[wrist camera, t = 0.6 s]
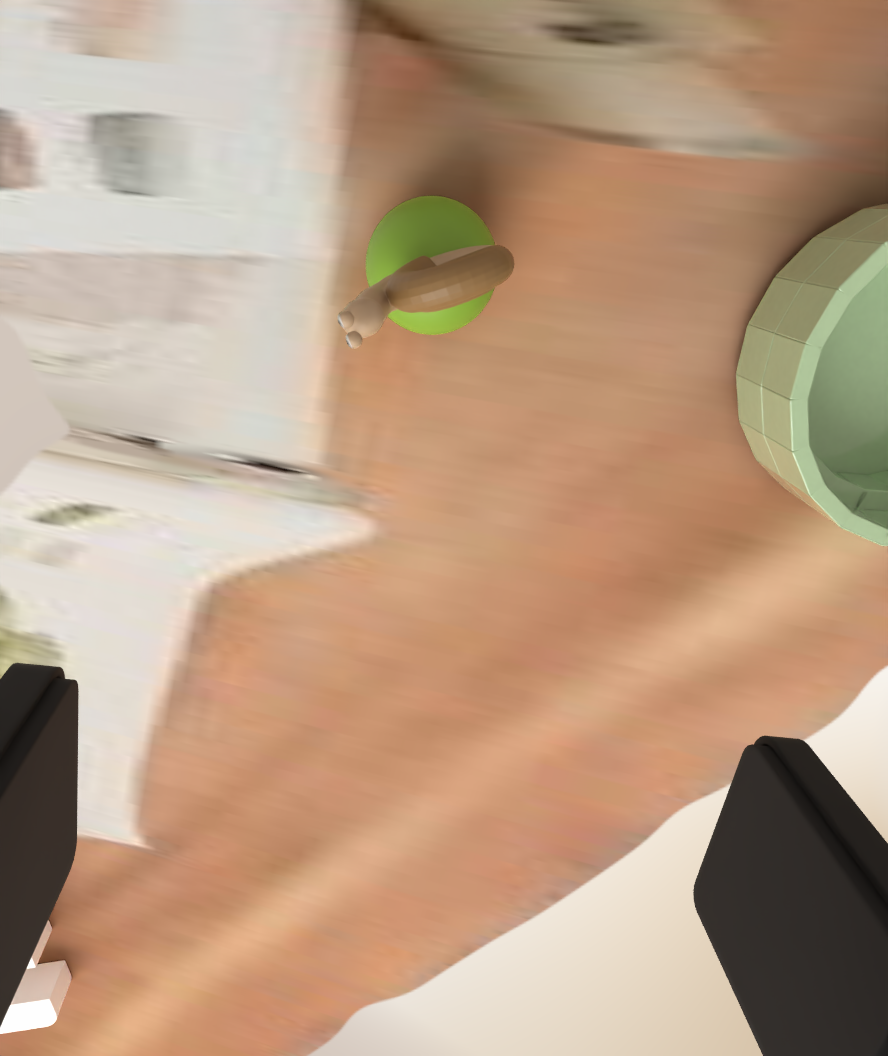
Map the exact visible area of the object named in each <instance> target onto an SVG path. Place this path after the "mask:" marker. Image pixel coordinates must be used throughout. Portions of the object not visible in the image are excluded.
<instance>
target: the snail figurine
mask: <svg viewBox="0 0 888 1056" xmlns="http://www.w3.org/2000/svg"><path fill="white" fill-rule="evenodd" d="M513 268H514V258H513V256H512V254H511V252H510V251H509V250H508V249H507V248H505V247H503V246H500V245H495V243H494V240H493V238H492V235H491V233H490V231H489V229H488V228H487V226H486V225H485V223H484V222H483V221H482V219H481V218H480V217H479V216H478V215H477V214H476V213H475V212H474V211H473V210H471V209H470V208H469V207H467V206H466V205H464V204H462V203H460V202H458V201H456V200H453V199H450V198H447V197H442V196H421V197H417V198H413V199H410V200H407V201H405V202H403V203H401V204H399V205H398V206H396V207H395V208H393V209H392V210H391V211H390V212H389V213H387V214H386V215H385V217H384V218H383V219H382V220H381V221H380V223H379V224H378V225H377V227H376V229H375V230H374V232H373V234H372V237H371V239H370V242H369V245H368V249H367V255H366V275H367V280H368V284H369V288H367V289H365V290H364V291H362V292H361V293H360V294H359V295H358V296H357V298H356V299H355V300H353V301H351V302H350V303H349V304H348V305H347V306H346V307H345V308H344V310H343V311H342V312H340V313H339V315H338V322H339V324H340V325H341V327H343V328H344V330H345V331H346V332H347V333H348V334H347V335H346V341H347V344H348V345H349V347H351V348H353V349H356V348H358V347H360V345H361V344H362V338H366V337H370V336H372V335H374V334H375V333H376V332H378V330H379V329H380V328H381V326H382V324H383V322H384V320H385V319H386V318H387V316H388V317H389V318H390V319H391V320H392V321H393V322H395V323H396V324H398V325H399V326H401V327H403V328H405V329H407V330H410V331H413V332H416V333H420V334H428V335H436V334H444V333H448V332H452V331H455V330H457V329H459V328H461V327H463V326H465V325H467V324H468V323H469V322H471V321H472V320H473V319H474V318H476V317H477V316H478V315H479V314H480V313H481V311H482V310H483V309H484V308H485V306H486V305H487V303H488V301H489V300H490V298H491V296H492V293H493V291H494V288H495V287H496V286H498V285H499V284H501V283H503V282H504V281H505V280H507V279H508V277H509V276H510V275H511V273H512V271H513Z"/></svg>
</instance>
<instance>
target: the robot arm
mask: <svg viewBox="0 0 888 1056" xmlns="http://www.w3.org/2000/svg"><path fill="white" fill-rule="evenodd" d="M77 777H78V683H77V681H76V680H70V679H65V675H64V671H63V669H62V668H61V667H53V666H43V665H33V664H23V663H15V664H13V665H12V666H11V667H9V669H8V670H7V671H6V673H5V674H4V675H3V676H2V678H1V679H0V1027H1V1025H2V1022H3V1020H4V1018H5V1016H6V1013H7V1011H8V1009H9V1007H10V1005H11V1002H12V1000H13V998H14V996H15V993H16V991H17V989H18V987H19V984H20V982H21V980H22V978H23V975H24V973H25V971H26V969H27V966H28V964H29V962H30V960H31V957H32V955H33V953H34V951H35V948H36V946H37V944H38V942H39V939H40V937H41V935H42V933H43V930H44V928H45V926H46V924H47V921H48V919H49V917H50V915H51V912H52V910H53V908H54V906H55V903H56V901H57V899H58V897H59V894H60V892H61V890H62V888H63V886H64V883H65V881H66V879H67V877H68V874H69V872H70V869H71V867H72V863H73V860H74V856H75V851H76V844H77ZM694 903H695V907H696V910H697V913H698V915H699V917H700V919H701V922H702V924H703V926H704V928H705V930H706V933H707V935H708V937H709V939H710V941H711V943H712V946H713V948H714V950H715V952H716V954H717V956H718V959H719V961H720V963H721V965H722V967H723V969H724V971H725V974H726V976H727V978H728V980H729V983H730V985H731V987H732V989H733V991H734V993H735V996H736V997H737V1000H738V1002H739V1004H740V1006H741V1009H742V1011H743V1013H744V1015H745V1017H746V1019H747V1022H748V1024H749V1026H750V1028H751V1030H752V1032H753V1035H754V1037H755V1039H756V1041H757V1043H758V1046H759V1048H760V1050H761V1052H762V1054H763V1056H888V843H887V842H886V841H885V840H884V838H883V837H882V836H881V835H880V833H879V832H878V831H877V830H876V828H875V827H874V826H873V825H872V824H871V822H870V821H869V820H868V819H867V817H866V816H865V815H864V814H863V812H862V811H861V810H860V809H859V807H858V806H857V805H856V804H855V802H854V801H853V800H852V799H851V797H850V796H849V795H848V794H847V793H846V791H845V790H844V789H843V787H842V786H841V785H840V784H839V782H838V781H837V780H836V779H835V777H834V776H833V775H832V774H831V773H830V771H829V770H828V769H827V768H826V766H825V765H824V764H823V763H822V761H821V760H820V759H819V758H818V756H817V755H816V754H815V753H814V751H813V750H812V749H811V748H810V746H809V745H808V744H807V743H806V742H804V741H803V740H800V739H793V738H783V737H773V736H762V737H760V738H759V739H758V740H756V742H755V744H754V745H748V746H747V747H746V748H745V750H744V751H743V753H742V756H741V759H740V762H739V764H738V767H737V770H736V772H735V775H734V778H733V781H732V783H731V786H730V789H729V791H728V794H727V797H726V800H725V802H724V805H723V808H722V811H721V813H720V816H719V819H718V822H717V824H716V827H715V829H714V832H713V835H712V838H711V840H710V843H709V846H708V848H707V851H706V854H705V856H704V859H703V862H702V865H701V867H700V870H699V873H698V876H697V878H696V882H695V885H694Z"/></svg>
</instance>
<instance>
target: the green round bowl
mask: <svg viewBox="0 0 888 1056" xmlns="http://www.w3.org/2000/svg"><path fill="white" fill-rule="evenodd" d="M736 384H737V399H738V415H739V422H740V424H741V427H742V429H743V431H744V434H745V436H746V438H747V441H748V443H749V445H750V448H751V450H752V452H753V455H754V457H755V459H756V460H757V461H758V462H759V463H760V464H761V465H762V467H763V468H764V469H765V470H766V471H767V472H768V473H769V474H770V475H771V476H772V477H773V478H774V479H775V480H776V481H777V482H778V483H779V484H780V485H781V486H782V487H783V488H785V489H786V490H787V491H789V492H790V493H792V494H793V495H795V496H796V497H797V498H799V499H800V500H802V501H803V502H805V503H806V504H807V505H809V506H810V507H812V508H813V509H815V510H816V511H818V512H819V513H820V514H822V515H823V516H825V517H826V518H828V519H829V520H830V521H832V522H833V523H835V524H836V525H838V526H839V527H840V528H842V529H844V530H847V531H849V532H851V533H854V534H856V535H858V536H860V537H863V538H865V539H867V540H869V541H872V542H874V543H876V544H878V545H882V546H888V203H886V204H881V205H877V206H873V207H868V208H864V209H862V210H860V211H858V212H856V213H854V214H853V215H851V216H849V217H847V218H846V219H844V220H842V221H841V222H839V223H837V224H835V225H834V226H832V227H830V228H828V229H827V230H825V231H823V232H821V233H820V234H818V235H816V236H815V237H813V238H812V239H811V240H810V241H809V242H808V243H807V244H806V245H805V246H804V247H803V248H802V249H801V250H800V251H799V252H798V253H797V254H796V255H795V256H794V257H793V258H792V259H791V261H790V262H789V263H788V264H787V265H786V266H785V267H784V268H783V269H782V270H781V271H780V272H779V273H778V274H777V275H776V276H775V278H774V279H773V281H772V282H771V284H770V286H769V288H768V290H767V291H766V293H765V295H764V297H763V298H762V300H761V302H760V304H759V305H758V307H757V309H756V311H755V313H754V314H753V316H752V318H751V320H750V321H749V324H748V325H747V329H746V333H745V338H744V342H743V346H742V350H741V354H740V358H739V362H738V366H737V370H736Z"/></svg>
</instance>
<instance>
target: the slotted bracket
mask: <svg viewBox="0 0 888 1056" xmlns="http://www.w3.org/2000/svg"><path fill="white" fill-rule="evenodd" d="M51 931H52V927H51V925H50V922H49V920H48V921H47V924H46V926H45V928H44V930H43V933H42V935H41V937H40V939H39V942H38V944H37V946H36V948H35V951H34V953H33V955H32V957H31V960H30V962H29V964H28V966H27V969H26V971H25V973H24V975H23V978H22V980H21V982H20V984H19V987H18V989H17V991H16V993H15V996H14V998H13V1000H12V1002H11V1005H10V1007H9V1009H8V1011H7V1013H6V1016H5V1018H4V1020H3V1022H2V1025H1V1027H0V1034H2V1033H9V1032H15V1031H22V1030H28V1029H35V1028H41V1027H47V1026H50V1025H52V1024H53V1023H54V1022H55V1021H56V1019H57V1016H58V1014H59V1011H60V1008H61V1006H62V1003H63V1000H64V998H65V995H66V993H67V990H68V987H69V985H70V982H71V978H72V977H71V974H70V971H69V969H68V966H67V964H66V961H65V960H62V961H56V962H49V963H42V964H38V961H39V959H40V957H41V954H42V952H43V950H44V947H45V945H46V943H47V940H48V938H49V936H50V933H51Z"/></svg>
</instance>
